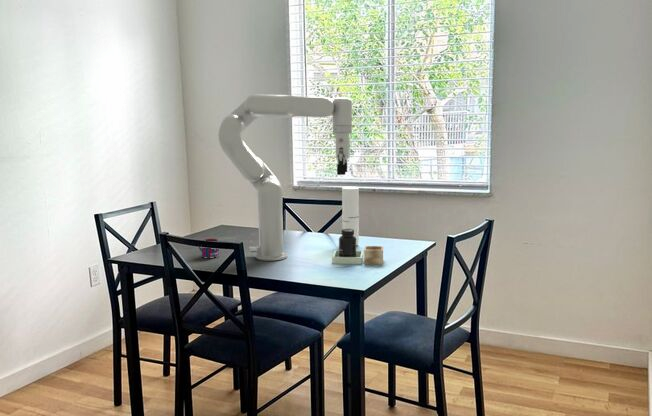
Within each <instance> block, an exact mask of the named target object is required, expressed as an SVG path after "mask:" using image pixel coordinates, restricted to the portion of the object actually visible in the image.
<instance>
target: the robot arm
mask: <svg viewBox="0 0 652 416" xmlns="http://www.w3.org/2000/svg"><path fill="white" fill-rule="evenodd" d="M352 102H353V101H352V99H351V98H349V97H335V98H330V97H327V96H324V97H323V96H301V95H300V96H299V95H292V94H291V95H290V94H266V93H264V94H261V93H259V94H258V93H257V94H256V93H254V94H250V95H248V96H247V97H246V98H245V100H244V101H243V102H241V104H240V105H239V106H238V107H237V108H235V109H234V110H233V111H232V112H231V113H230V114H228V115H226V116H225V117H224V118H223V120H222V121H221V123H220V126H219V129H218V135H217V136H218V142H219V145H220V148H221V150H222V151H223V152H224V154H225V155H226V157H228V158H227V159H229V160H230V161H231V163H232V164H233V165H234V167H235V168H236V169H237V170H238V172H239V173H240V175H241V176H242V177H243V178H244V179H245V180H247V181H248V182H249V183H250V184H251V185H252V186H253V188H254V189H255V190H256V191H257V206H258V207H257V212H258V218H257V219H258V245H257V246H249V247H248V252H250V253H256V254H255V258H256V259H257V260H259V261H264V262H265V261H267V262H270V261H275V262H276V261H281V260H284V259H287V258H288V253H287V252H284V221H283V219H284V217H283V216H284V215H283V201H284V200H283V195H284V194H283V187H282V184H281V181H280V180H279V179H278V178H277V177H276V175H275V174H274V172H272V170H271V169H270V168H269V167H268V166H267V165H266V163H265V162H264V161H263V160H262V159H261V158H260V157H259V156H257V155H255V154H254V152H252V150H251V149H250V148H249V146H248V145H247V144H246V143H245V141H244V140H243V138H242V133H243V132H244V131H245V130H246V129H247V128H249V126H251V125H252V124H253V123H254V122H256V120H257V119H259V117H261V118H262V117H264V118H269V117H270V118H296V117H297V118H298V117H302V118H303V117H307V118H327V117H331V116H332V134H333V135H335V158H336V159H337V164H336V175H338V176H339V175H340V176H341V175H343V176H345V175H346V173H347V172H348V159H350V157H351V150H350V149H351V146H350V143H351V142H350V141H351V139H350V134H352V133H353V129H352V128H353V123H352V122H353V121H352V120H353V111H352V110H353V108H352V107H353V105H352V104H353V103H352Z"/></svg>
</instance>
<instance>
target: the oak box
mask: <svg viewBox="0 0 652 416" xmlns="http://www.w3.org/2000/svg"><path fill="white" fill-rule="evenodd" d="M363 261H364V263H363V265H383V264H384V246H383V245H365V246H364V250H363Z"/></svg>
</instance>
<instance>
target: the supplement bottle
mask: <svg viewBox="0 0 652 416" xmlns="http://www.w3.org/2000/svg"><path fill="white" fill-rule="evenodd" d="M340 233H341V236H340V237H338V250H339V257H356V251H357V246H356V237H355V236H353V235H354V230H353V229H341V232H340Z"/></svg>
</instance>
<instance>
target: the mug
mask: <svg viewBox="0 0 652 416" xmlns="http://www.w3.org/2000/svg"><path fill="white" fill-rule="evenodd" d="M203 240H206V241H218V242H219V239H217V238H204V239H203ZM198 248H199V251H200V252H201V257H207V258H210V257H216V256H218V255H219V256H220V254H219V253H220V250H219V249H211V248H202V247H201V248H200V247H199V246H198Z"/></svg>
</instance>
